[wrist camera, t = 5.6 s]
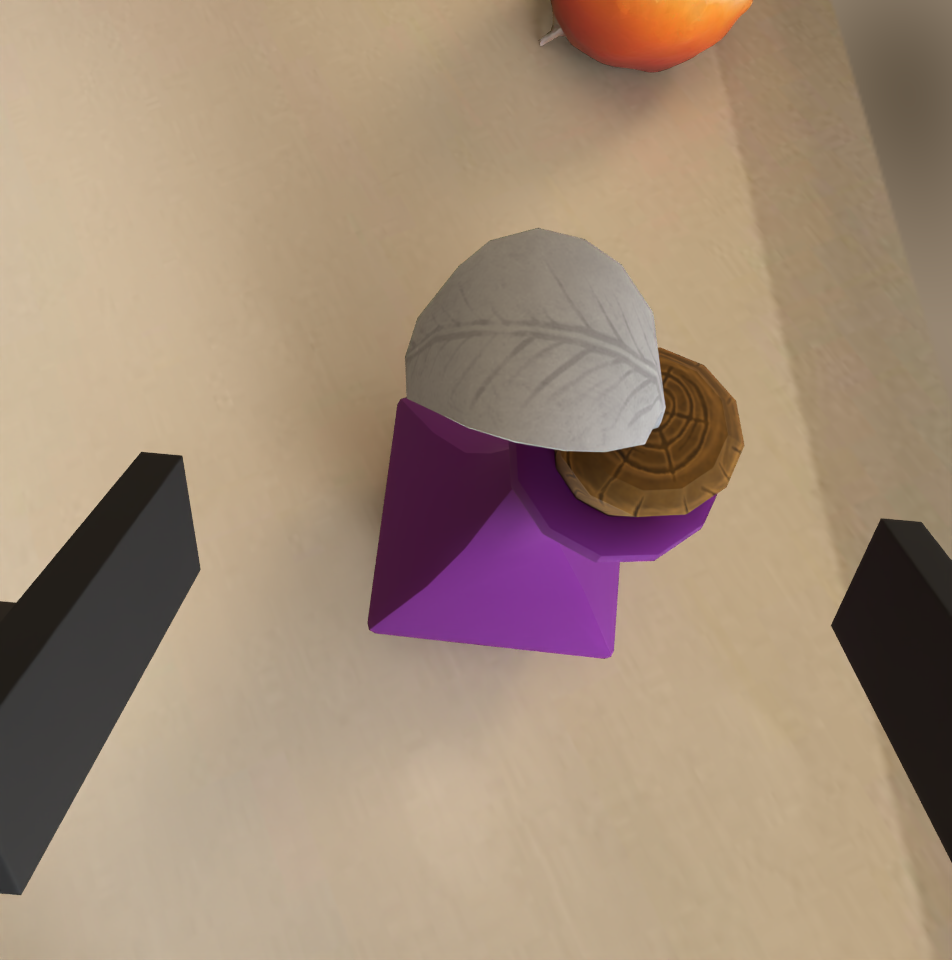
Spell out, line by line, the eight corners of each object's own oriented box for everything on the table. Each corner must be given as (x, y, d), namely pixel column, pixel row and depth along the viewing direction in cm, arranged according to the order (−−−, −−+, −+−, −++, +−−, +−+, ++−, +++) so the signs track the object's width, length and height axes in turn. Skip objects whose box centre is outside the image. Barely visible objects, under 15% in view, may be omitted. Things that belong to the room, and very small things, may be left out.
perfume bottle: (608, 447, 27) (897, 93, 9) (593, 656, 25) (905, 703, 8) (405, 424, 27) (312, 25, 9) (377, 632, 25) (202, 624, 8)
